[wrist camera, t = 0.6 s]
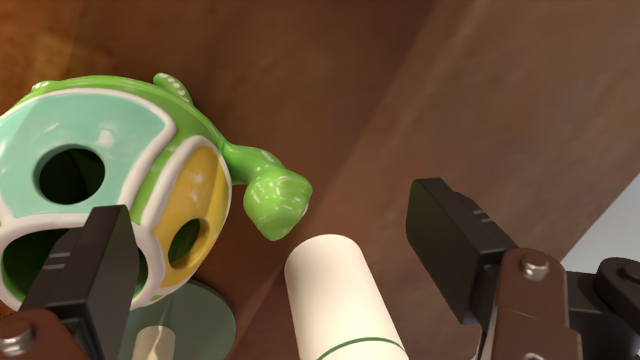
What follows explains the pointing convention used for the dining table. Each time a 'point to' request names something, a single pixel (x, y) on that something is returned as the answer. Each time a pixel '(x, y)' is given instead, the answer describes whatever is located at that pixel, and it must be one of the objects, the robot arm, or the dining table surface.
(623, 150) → the dining table surface
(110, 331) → the robot arm
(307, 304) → the cylindrical container
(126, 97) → the turtle holder
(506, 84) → the dining table surface
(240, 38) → the dining table surface
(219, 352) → the lid
